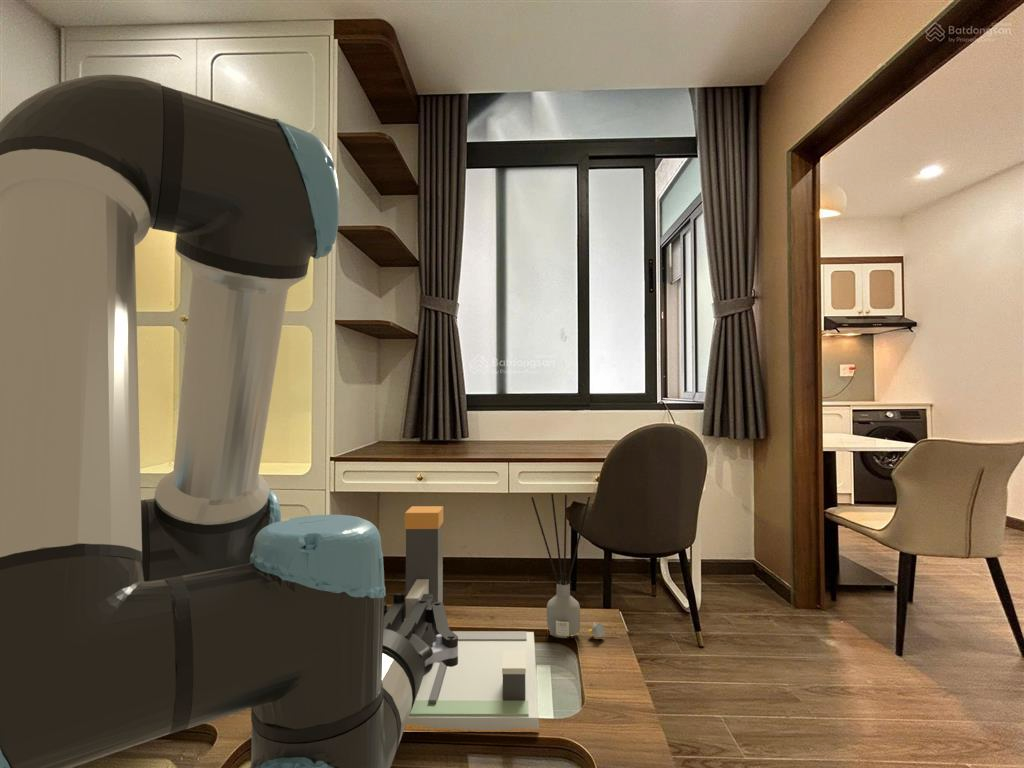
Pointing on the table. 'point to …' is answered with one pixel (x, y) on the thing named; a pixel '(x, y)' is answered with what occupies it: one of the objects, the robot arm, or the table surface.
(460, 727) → the panel
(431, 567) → the handle
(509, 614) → the table surface
